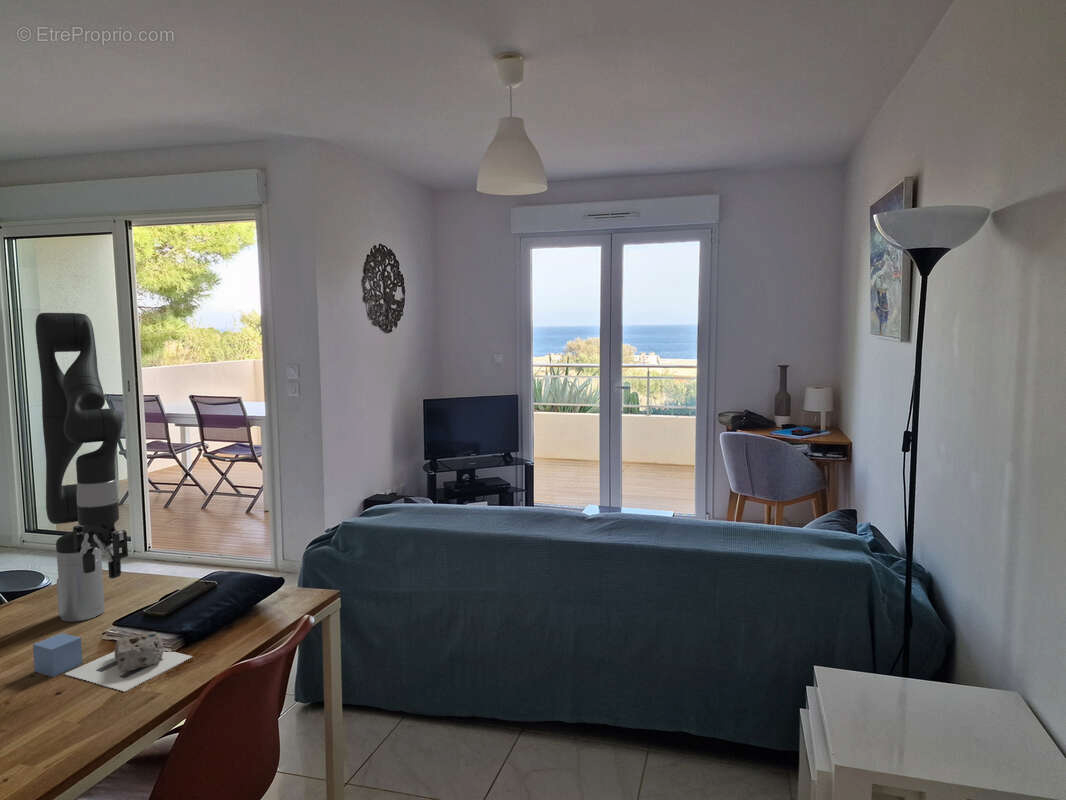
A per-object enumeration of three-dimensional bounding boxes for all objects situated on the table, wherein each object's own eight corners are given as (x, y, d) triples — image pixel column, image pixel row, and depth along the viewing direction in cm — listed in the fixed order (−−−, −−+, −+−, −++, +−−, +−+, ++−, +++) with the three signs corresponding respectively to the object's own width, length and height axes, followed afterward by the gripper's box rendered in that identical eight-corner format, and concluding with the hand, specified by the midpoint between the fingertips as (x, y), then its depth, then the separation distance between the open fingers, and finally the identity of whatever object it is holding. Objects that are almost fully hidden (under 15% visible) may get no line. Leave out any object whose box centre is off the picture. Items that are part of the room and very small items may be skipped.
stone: (114, 637, 152) (165, 625, 156) (118, 663, 152) (168, 650, 156) (102, 651, 140) (158, 638, 144) (106, 679, 140) (162, 665, 144)
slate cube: (34, 672, 144) (32, 644, 143) (63, 659, 149) (62, 633, 149) (53, 677, 141) (51, 649, 141) (82, 664, 147) (80, 637, 146)
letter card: (64, 674, 142) (64, 673, 142) (135, 642, 157) (135, 641, 157) (124, 692, 135) (124, 690, 135) (192, 657, 150) (192, 656, 150)
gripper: (136, 500, 149) (140, 573, 151) (92, 494, 155) (96, 565, 156) (103, 508, 142) (108, 585, 144) (58, 501, 148) (63, 575, 149)
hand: (102, 574), depth 150 cm, fingers open, 7 cm apart
